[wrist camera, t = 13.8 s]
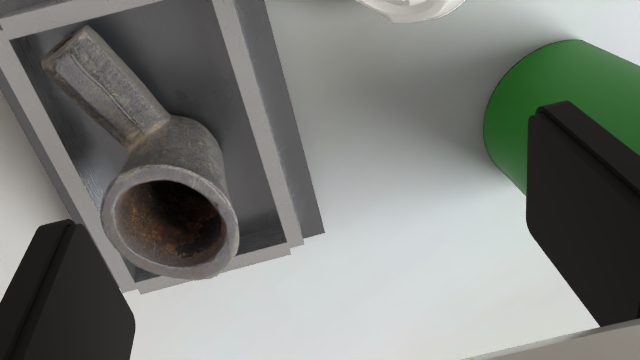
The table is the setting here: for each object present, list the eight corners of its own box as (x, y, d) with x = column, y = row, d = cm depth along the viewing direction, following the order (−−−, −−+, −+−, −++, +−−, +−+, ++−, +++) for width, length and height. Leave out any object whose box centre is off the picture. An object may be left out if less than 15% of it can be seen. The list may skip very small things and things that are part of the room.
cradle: (-32, 7, 28) (-60, 22, 26) (247, -64, 29) (249, -57, 26) (114, 278, 38) (106, 310, 35) (322, 223, 38) (329, 250, 36)
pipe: (115, -2, 28) (78, 39, 21) (261, 170, 34) (270, 246, 27) (27, 65, 29) (-34, 125, 22) (185, 221, 35) (174, 306, 28)
